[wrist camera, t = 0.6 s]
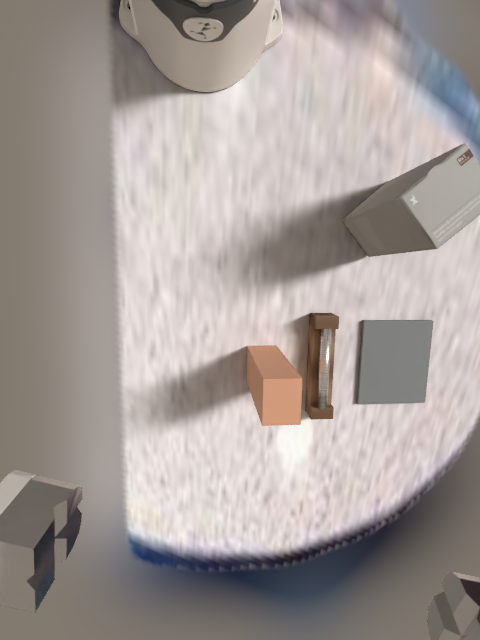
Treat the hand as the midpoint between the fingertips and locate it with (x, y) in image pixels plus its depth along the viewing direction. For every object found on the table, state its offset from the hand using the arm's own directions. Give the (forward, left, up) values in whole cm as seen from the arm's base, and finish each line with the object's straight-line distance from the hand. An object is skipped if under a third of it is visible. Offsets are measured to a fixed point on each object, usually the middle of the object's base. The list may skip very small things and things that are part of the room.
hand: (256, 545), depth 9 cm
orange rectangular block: (+9, +7, -43) cm, 45 cm away
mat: (+9, +26, -43) cm, 51 cm away
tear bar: (+9, +15, -43) cm, 47 cm away
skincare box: (-11, +22, -44) cm, 50 cm away
